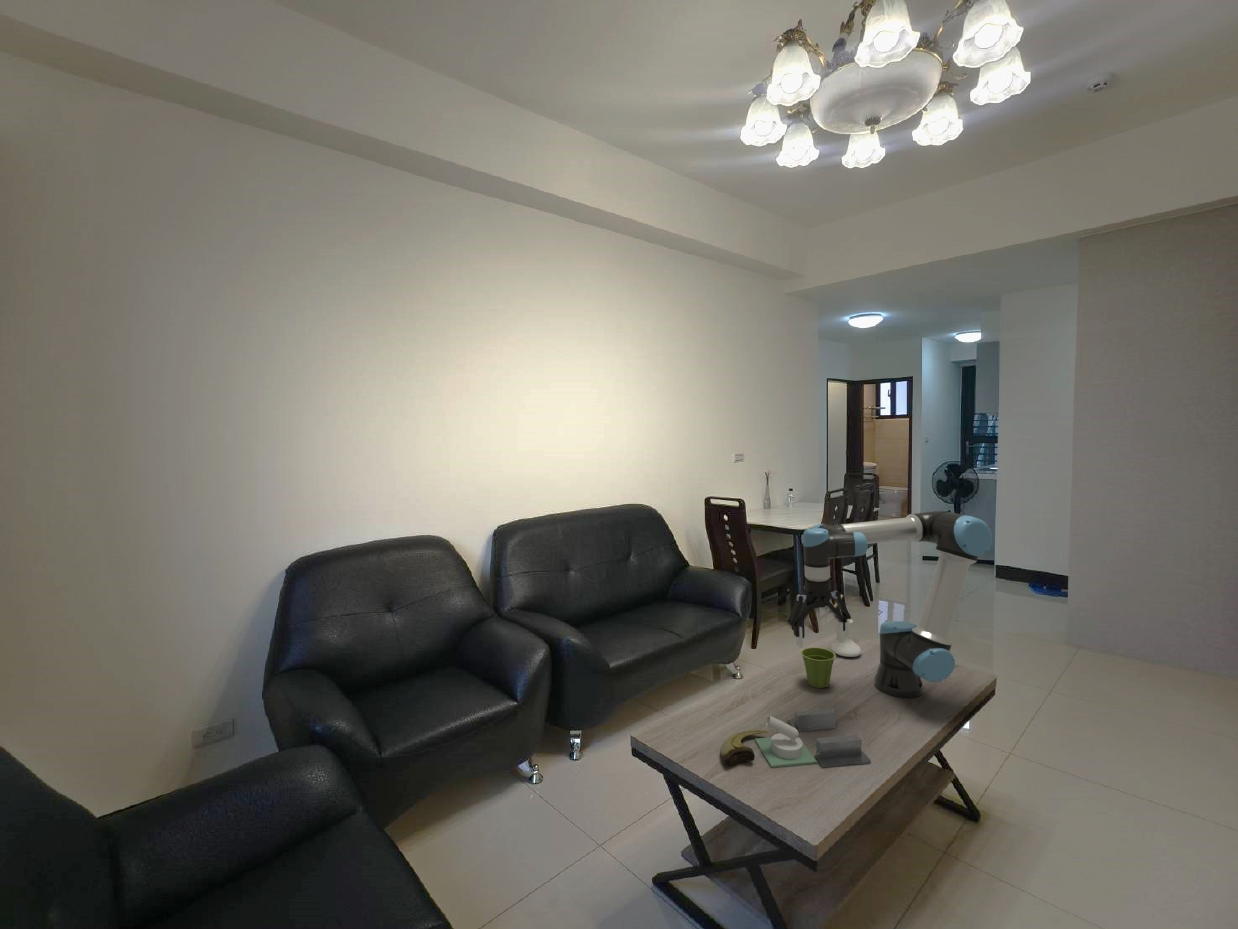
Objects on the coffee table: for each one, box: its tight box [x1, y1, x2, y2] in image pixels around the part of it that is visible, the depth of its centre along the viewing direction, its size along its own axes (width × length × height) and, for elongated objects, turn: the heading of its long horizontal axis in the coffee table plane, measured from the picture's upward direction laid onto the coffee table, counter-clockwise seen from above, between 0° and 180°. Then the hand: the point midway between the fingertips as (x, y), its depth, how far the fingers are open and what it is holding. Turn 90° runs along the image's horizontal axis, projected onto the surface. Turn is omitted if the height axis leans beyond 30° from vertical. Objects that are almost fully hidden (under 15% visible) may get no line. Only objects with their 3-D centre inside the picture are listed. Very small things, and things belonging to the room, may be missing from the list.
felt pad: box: [754, 736, 818, 769], centre depth 154 cm, size 13×13×1 cm
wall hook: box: [765, 715, 804, 759], centre depth 154 cm, size 9×10×10 cm
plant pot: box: [800, 646, 837, 689], centre depth 193 cm, size 12×12×11 cm
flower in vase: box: [830, 593, 863, 658], centre depth 217 cm, size 13×11×25 cm
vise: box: [787, 708, 872, 769], centre depth 158 cm, size 14×23×5 cm, turn 6°
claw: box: [720, 729, 768, 766], centre depth 156 cm, size 20×10×3 cm, turn 152°
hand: (820, 643), depth 171 cm, fingers open, 13 cm apart
